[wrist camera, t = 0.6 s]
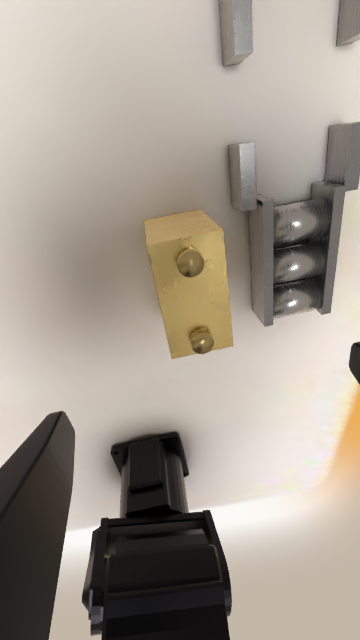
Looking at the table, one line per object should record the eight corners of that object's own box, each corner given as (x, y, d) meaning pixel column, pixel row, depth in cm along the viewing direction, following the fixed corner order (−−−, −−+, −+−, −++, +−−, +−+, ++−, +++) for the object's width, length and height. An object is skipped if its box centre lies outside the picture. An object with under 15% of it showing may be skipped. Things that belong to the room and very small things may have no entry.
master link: (211, 302, 21) (236, 353, 16) (163, 312, 21) (173, 366, 16) (200, 209, 18) (227, 233, 12) (143, 220, 18) (146, 249, 12)
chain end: (324, 296, 22) (344, 311, 20) (239, 313, 22) (250, 330, 20) (343, 123, 16) (372, 119, 14) (228, 145, 16) (241, 144, 14)
